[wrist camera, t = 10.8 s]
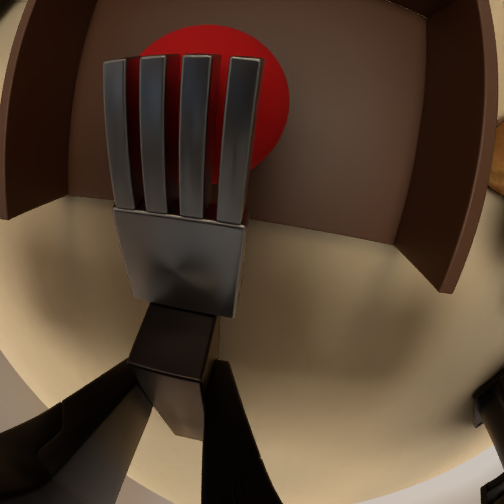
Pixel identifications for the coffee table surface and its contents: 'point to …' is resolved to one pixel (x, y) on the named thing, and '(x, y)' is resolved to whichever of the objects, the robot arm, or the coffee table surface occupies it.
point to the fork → (180, 214)
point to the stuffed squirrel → (498, 162)
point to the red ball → (226, 45)
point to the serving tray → (299, 118)
